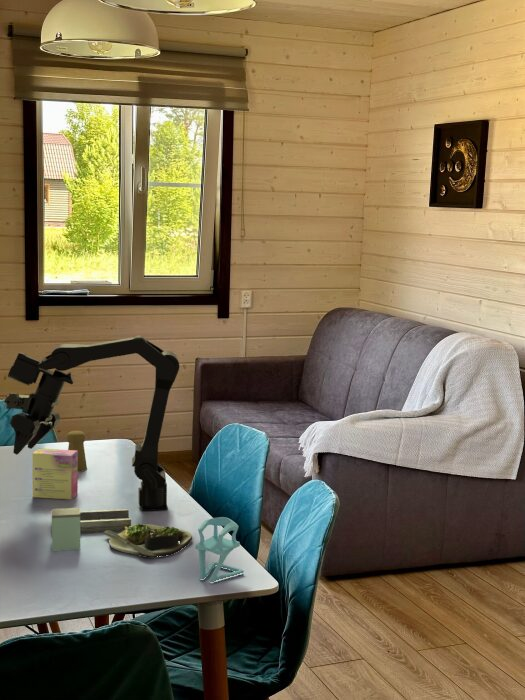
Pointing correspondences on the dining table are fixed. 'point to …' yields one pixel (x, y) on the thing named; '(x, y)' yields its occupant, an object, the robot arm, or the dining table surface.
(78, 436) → the cork
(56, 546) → the module
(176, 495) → the dining table surface
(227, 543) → the chair
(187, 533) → the salad plate
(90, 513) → the rail
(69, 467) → the box
